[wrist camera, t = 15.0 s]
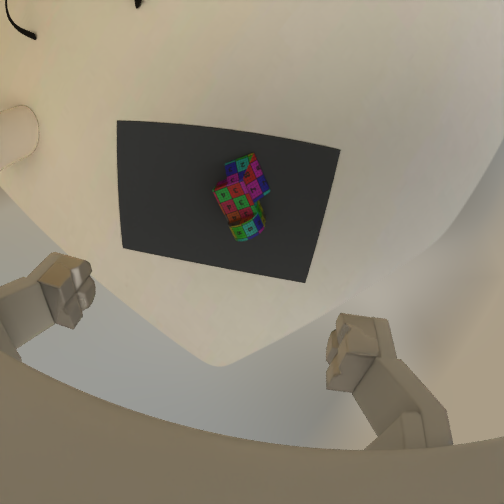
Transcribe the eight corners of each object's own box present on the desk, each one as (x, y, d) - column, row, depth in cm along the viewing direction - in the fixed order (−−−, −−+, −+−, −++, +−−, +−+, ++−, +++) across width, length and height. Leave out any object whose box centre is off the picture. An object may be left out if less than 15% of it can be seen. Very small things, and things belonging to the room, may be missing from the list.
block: (279, 213, 28) (277, 231, 25) (238, 226, 29) (232, 244, 27) (254, 152, 25) (248, 163, 23) (211, 169, 27) (200, 182, 24)
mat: (340, 149, 24) (340, 150, 24) (305, 282, 32) (305, 283, 32) (117, 120, 25) (117, 120, 25) (123, 247, 33) (122, 248, 33)
